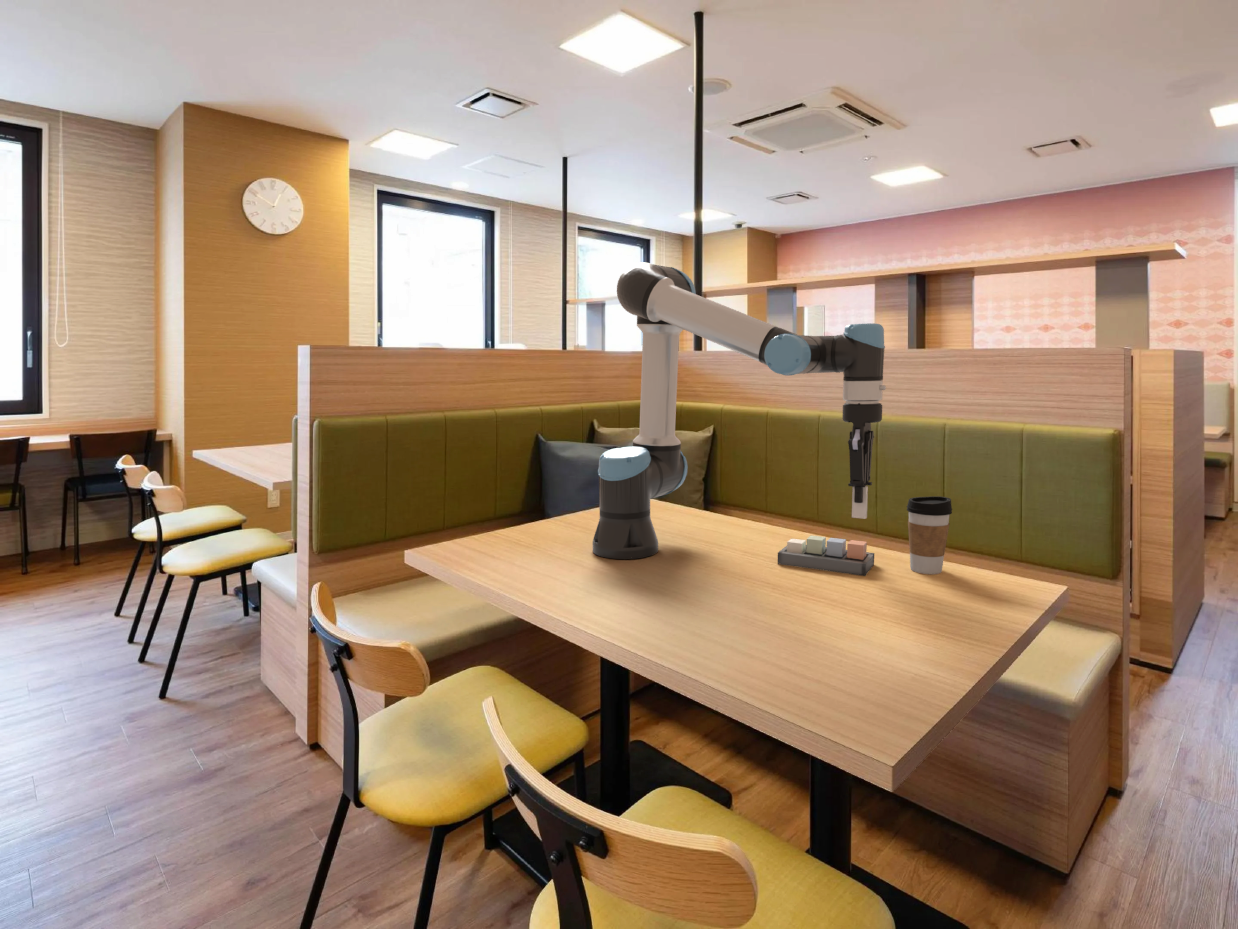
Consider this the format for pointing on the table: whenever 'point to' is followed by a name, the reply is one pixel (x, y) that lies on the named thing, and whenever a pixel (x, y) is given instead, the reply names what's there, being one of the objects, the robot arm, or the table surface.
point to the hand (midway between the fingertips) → (859, 517)
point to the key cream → (796, 546)
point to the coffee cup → (928, 532)
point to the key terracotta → (856, 549)
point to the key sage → (816, 544)
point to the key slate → (836, 547)
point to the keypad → (827, 562)
